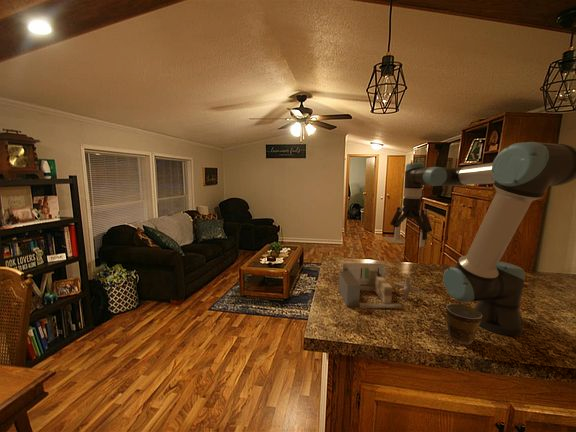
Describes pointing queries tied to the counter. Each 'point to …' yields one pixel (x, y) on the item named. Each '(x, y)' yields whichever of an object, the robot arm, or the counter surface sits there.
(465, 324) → the ceramic cup
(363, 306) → the gauge frame
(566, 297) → the counter surface
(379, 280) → the gauge pad
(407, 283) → the pipe connector
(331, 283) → the counter surface
